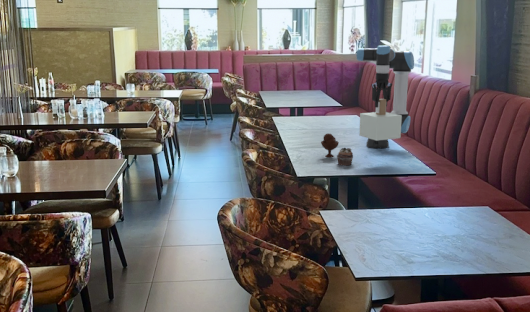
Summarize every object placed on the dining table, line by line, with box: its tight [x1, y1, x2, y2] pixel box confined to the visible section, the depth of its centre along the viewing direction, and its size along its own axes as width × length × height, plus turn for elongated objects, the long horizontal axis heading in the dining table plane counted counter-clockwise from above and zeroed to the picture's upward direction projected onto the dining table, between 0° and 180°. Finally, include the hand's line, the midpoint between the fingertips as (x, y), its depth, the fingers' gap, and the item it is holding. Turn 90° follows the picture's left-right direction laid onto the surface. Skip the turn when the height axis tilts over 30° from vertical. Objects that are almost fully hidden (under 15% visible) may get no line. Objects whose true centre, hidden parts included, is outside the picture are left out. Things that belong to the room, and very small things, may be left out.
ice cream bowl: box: [320, 133, 339, 158], centre depth 345 cm, size 11×11×15 cm
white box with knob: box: [358, 98, 402, 141], centre depth 323 cm, size 17×17×22 cm
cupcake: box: [336, 147, 354, 167], centre depth 326 cm, size 10×10×10 cm
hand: (380, 112), depth 322 cm, fingers closed on white box with knob, 4 cm apart
